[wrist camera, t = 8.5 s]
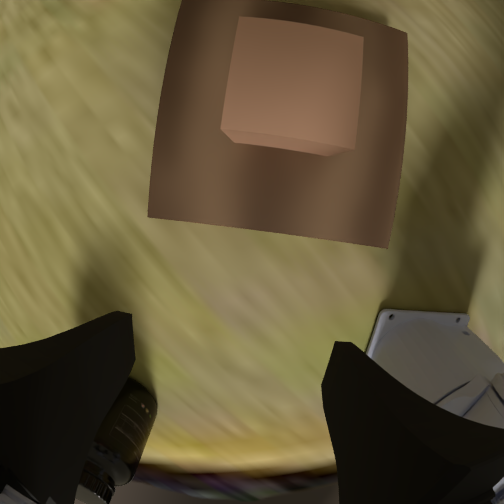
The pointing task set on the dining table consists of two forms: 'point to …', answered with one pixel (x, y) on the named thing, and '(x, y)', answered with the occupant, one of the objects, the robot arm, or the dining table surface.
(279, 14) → the walnut base
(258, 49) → the terracotta cube
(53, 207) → the dining table surface
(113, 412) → the supplement bottle
